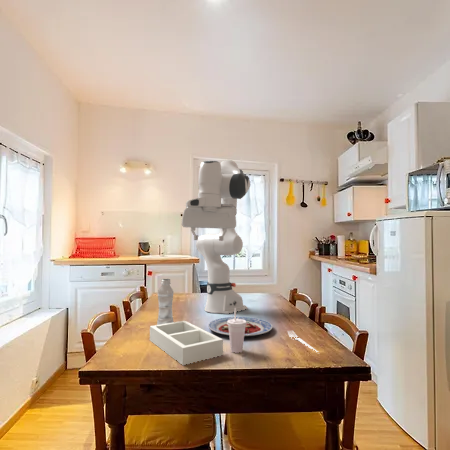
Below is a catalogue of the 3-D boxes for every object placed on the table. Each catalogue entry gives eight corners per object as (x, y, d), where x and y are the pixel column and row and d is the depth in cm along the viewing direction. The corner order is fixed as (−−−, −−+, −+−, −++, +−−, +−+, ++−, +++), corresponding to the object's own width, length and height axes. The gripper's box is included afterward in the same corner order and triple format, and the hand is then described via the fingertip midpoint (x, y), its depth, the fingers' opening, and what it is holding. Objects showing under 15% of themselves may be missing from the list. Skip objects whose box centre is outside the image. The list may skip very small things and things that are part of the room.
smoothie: (226, 347, 105) (226, 305, 106) (244, 347, 106) (245, 305, 106) (227, 354, 99) (228, 310, 99) (247, 354, 99) (248, 310, 100)
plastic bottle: (176, 327, 128) (176, 278, 128) (168, 332, 121) (168, 280, 122) (162, 326, 130) (163, 278, 130) (153, 330, 123) (154, 280, 124)
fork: (315, 356, 100) (315, 350, 100) (286, 335, 119) (286, 330, 119) (324, 355, 101) (324, 349, 101) (293, 335, 120) (293, 330, 120)
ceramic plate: (254, 345, 108) (254, 337, 108) (195, 333, 121) (195, 325, 121) (282, 327, 130) (282, 320, 130) (229, 318, 143) (229, 312, 143)
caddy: (149, 340, 112) (149, 326, 112) (184, 333, 120) (184, 320, 120) (182, 365, 90) (182, 348, 90) (222, 355, 98) (222, 339, 98)
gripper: (234, 205, 121) (234, 241, 120) (181, 203, 117) (180, 239, 116) (238, 203, 115) (238, 241, 114) (182, 200, 111) (181, 239, 110)
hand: (208, 240), depth 115 cm, fingers open, 8 cm apart
